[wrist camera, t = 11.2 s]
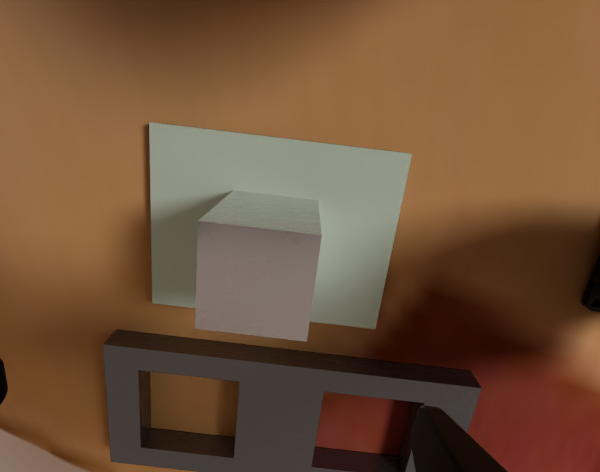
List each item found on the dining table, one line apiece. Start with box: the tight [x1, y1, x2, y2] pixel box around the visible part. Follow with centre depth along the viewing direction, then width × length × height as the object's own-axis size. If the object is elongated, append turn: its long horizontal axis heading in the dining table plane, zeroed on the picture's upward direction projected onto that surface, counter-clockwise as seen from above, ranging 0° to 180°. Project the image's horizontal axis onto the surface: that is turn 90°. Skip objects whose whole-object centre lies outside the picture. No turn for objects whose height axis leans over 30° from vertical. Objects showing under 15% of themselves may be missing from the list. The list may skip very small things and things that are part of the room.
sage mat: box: [149, 122, 412, 329], centre depth 19 cm, size 13×10×1 cm
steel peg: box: [195, 190, 322, 342], centre depth 16 cm, size 4×4×6 cm
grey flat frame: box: [103, 330, 482, 472], centre depth 22 cm, size 22×9×2 cm, turn 83°
